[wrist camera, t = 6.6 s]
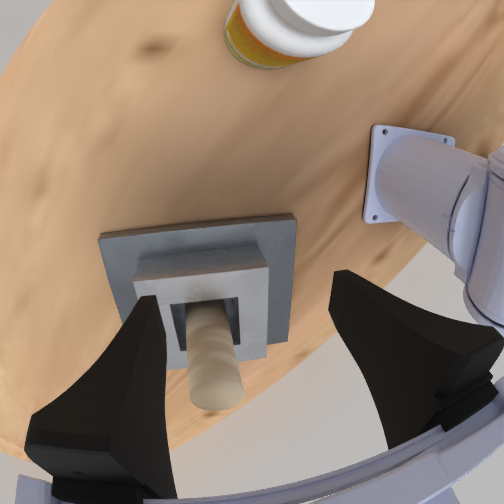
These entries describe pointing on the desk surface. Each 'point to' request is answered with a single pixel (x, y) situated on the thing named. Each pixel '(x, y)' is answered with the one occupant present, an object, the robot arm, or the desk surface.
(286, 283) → the socket
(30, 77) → the desk surface
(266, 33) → the supplement bottle
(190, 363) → the peg
